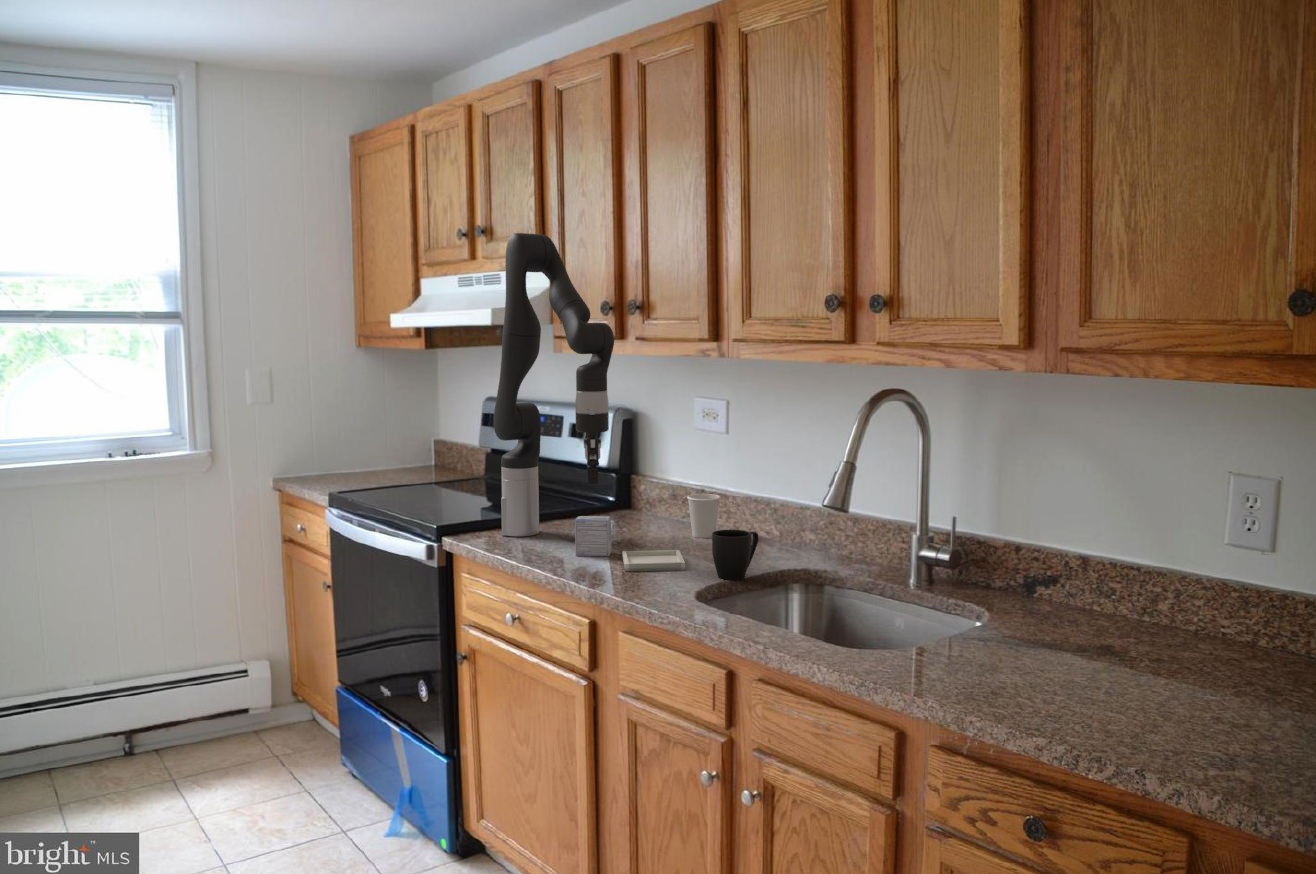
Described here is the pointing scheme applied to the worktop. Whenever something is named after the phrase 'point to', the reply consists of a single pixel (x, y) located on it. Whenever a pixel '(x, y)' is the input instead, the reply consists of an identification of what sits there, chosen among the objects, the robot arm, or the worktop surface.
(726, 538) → the mug
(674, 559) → the tray
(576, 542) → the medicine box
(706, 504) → the dixie cup
